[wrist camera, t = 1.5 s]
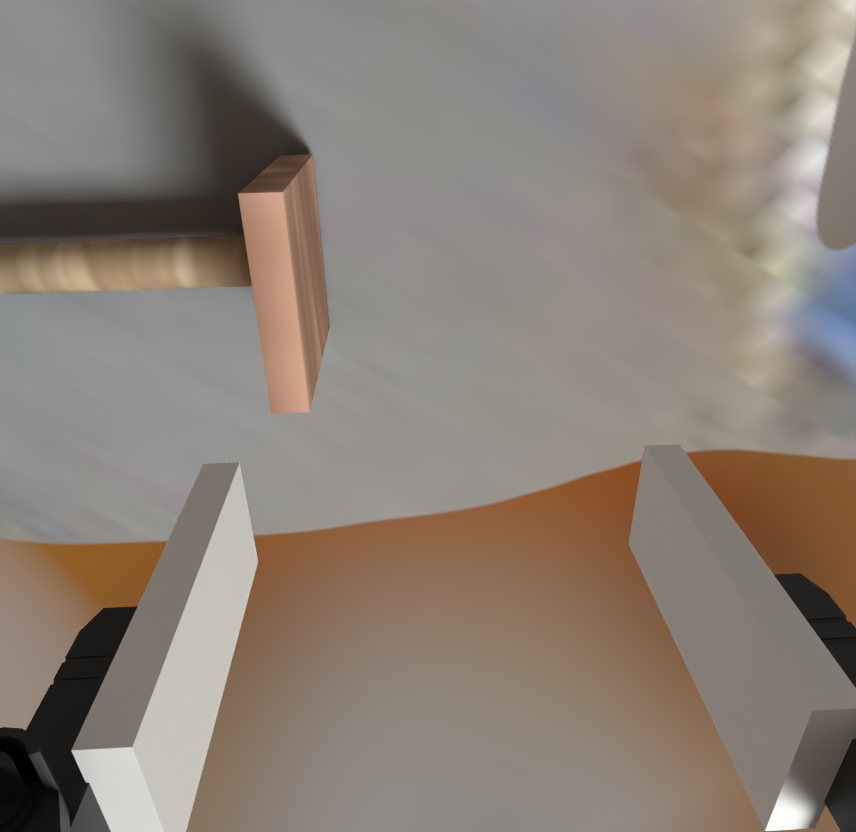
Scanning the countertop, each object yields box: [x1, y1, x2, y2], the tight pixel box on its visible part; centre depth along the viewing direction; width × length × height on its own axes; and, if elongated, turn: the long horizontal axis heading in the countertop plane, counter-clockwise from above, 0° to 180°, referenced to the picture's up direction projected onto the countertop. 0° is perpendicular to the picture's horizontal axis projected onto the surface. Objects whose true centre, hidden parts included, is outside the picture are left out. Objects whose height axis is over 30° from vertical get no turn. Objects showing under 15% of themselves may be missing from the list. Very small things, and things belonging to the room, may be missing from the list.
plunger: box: [0, 154, 330, 413], centre depth 30 cm, size 20×9×10 cm, turn 91°
